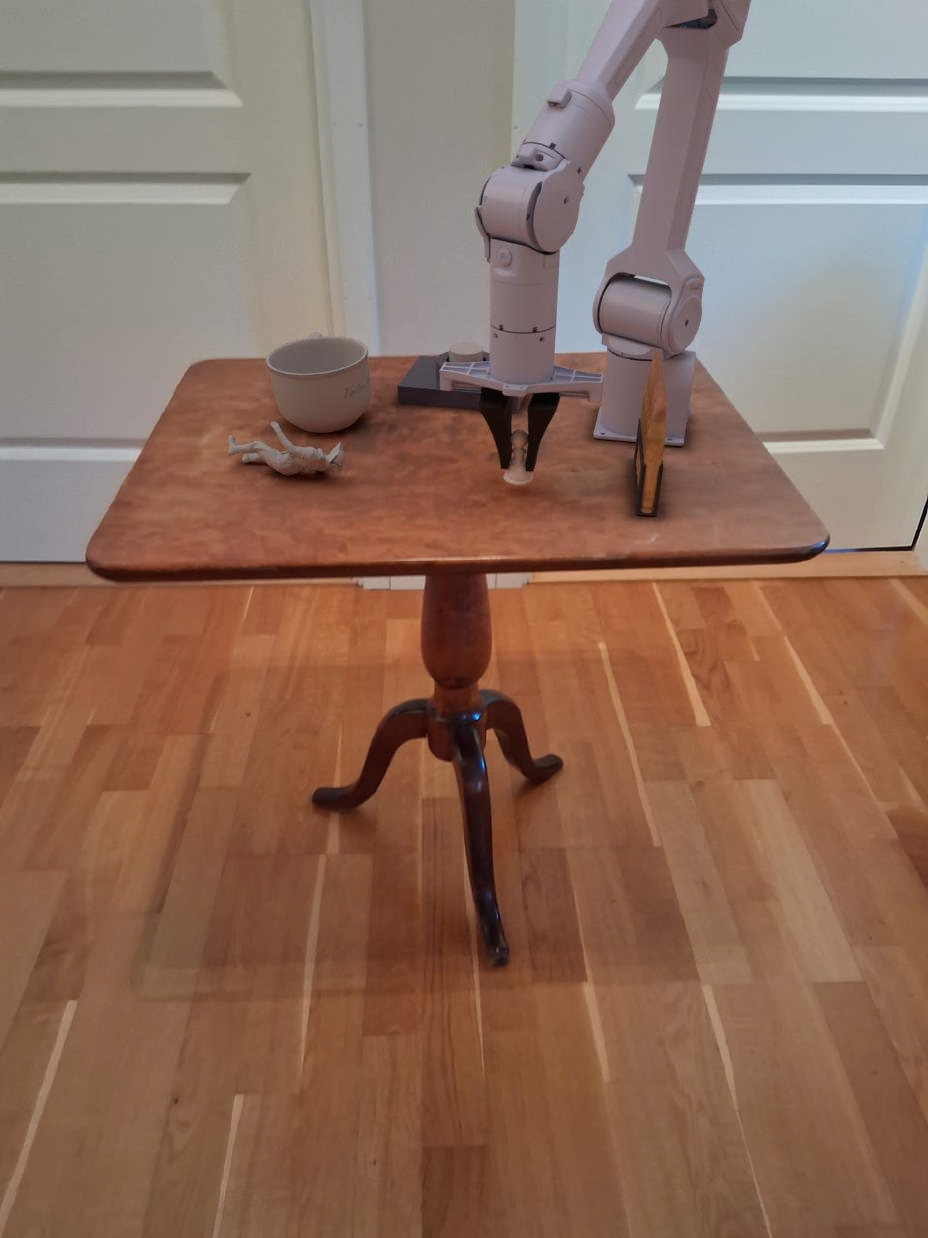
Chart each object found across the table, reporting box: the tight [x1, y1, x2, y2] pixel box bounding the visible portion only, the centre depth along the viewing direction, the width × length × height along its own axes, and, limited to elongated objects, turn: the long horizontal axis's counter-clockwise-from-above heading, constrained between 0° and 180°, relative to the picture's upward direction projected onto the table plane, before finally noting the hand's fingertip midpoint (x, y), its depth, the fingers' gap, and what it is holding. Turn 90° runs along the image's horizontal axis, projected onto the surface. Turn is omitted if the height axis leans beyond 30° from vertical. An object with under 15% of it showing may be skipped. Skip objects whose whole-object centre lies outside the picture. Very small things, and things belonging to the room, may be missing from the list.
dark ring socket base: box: [396, 350, 526, 415], centre depth 105 cm, size 14×10×4 cm
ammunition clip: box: [632, 352, 667, 517], centre depth 83 cm, size 11×2×12 cm, turn 173°
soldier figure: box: [227, 420, 346, 476], centre depth 89 cm, size 8×5×12 cm
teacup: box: [265, 331, 372, 434], centre depth 98 cm, size 14×11×8 cm
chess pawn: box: [502, 428, 534, 486], centre depth 84 cm, size 3×3×5 cm
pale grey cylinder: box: [448, 341, 485, 363], centre depth 104 cm, size 4×4×2 cm
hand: (518, 465), depth 85 cm, fingers closed on chess pawn, 2 cm apart
